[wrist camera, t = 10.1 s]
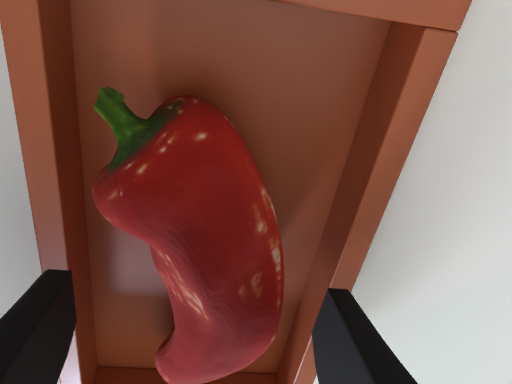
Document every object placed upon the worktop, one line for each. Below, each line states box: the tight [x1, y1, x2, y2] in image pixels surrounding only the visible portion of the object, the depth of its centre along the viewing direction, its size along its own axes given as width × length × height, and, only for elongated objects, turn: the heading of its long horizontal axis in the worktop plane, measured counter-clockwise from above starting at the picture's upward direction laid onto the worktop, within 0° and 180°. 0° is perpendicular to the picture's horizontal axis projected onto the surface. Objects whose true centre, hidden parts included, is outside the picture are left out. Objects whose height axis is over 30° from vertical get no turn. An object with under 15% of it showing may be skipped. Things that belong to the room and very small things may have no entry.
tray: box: [0, 0, 472, 384], centre depth 14 cm, size 18×10×2 cm, turn 171°
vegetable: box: [92, 86, 284, 384], centre depth 13 cm, size 4×5×12 cm
